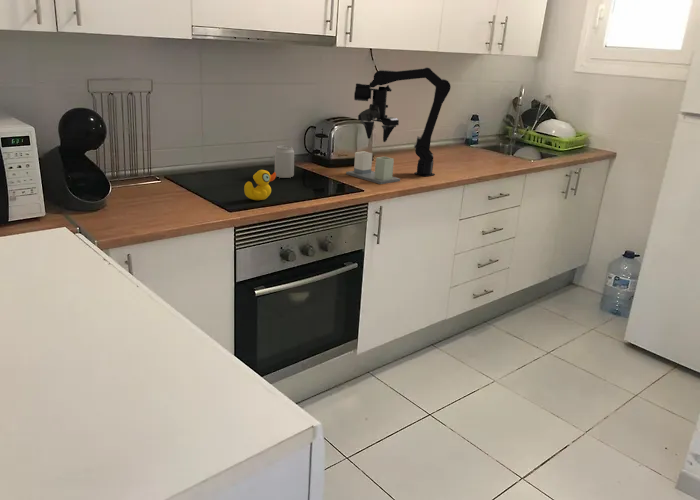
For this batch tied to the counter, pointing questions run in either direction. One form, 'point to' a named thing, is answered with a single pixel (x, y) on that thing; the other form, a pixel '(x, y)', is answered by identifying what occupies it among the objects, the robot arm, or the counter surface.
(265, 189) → the duckling
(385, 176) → the pin board
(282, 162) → the can
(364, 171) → the sleeve
